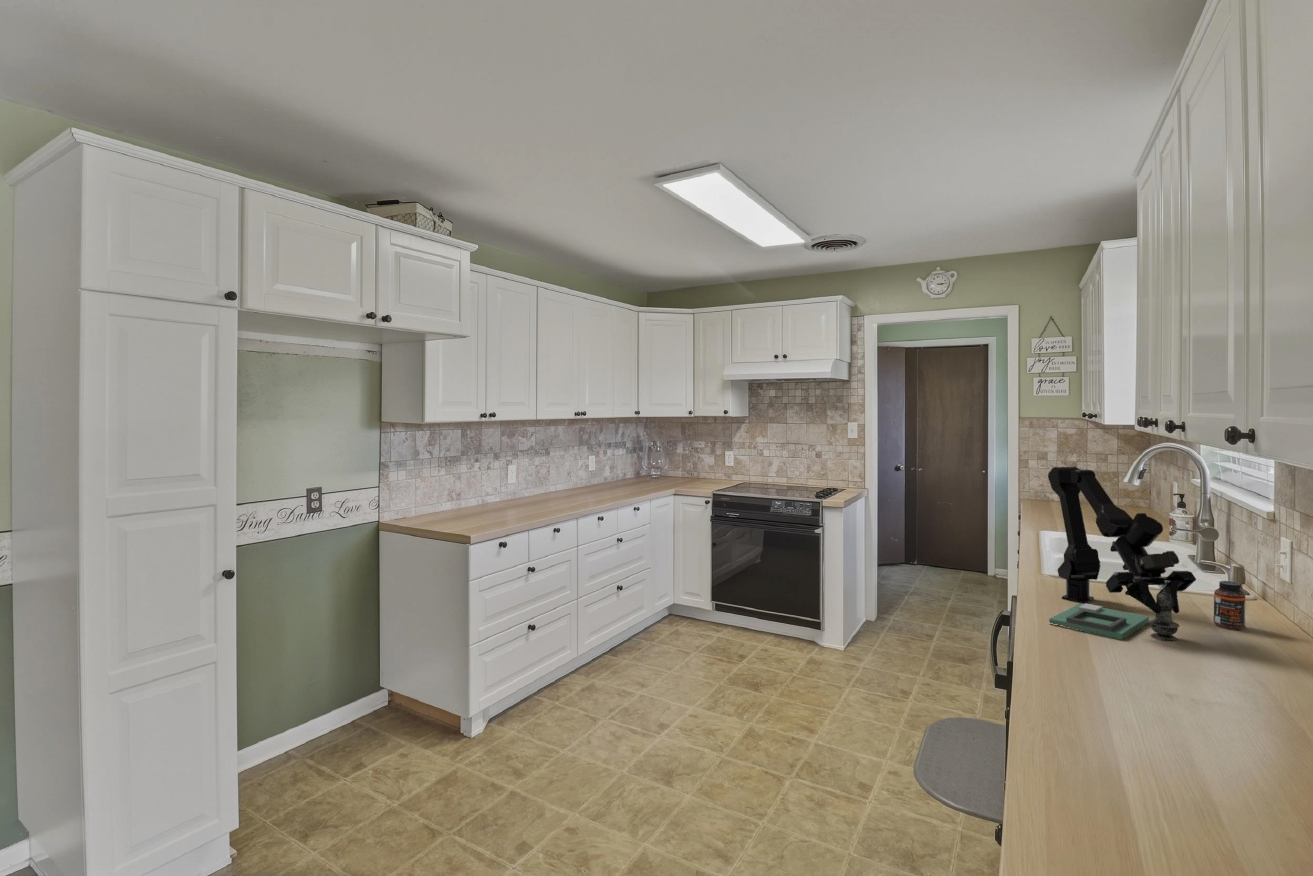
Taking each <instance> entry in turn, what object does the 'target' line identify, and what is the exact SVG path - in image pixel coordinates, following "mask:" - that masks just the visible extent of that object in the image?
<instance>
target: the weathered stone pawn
mask: <svg viewBox="0 0 1313 876" xmlns="http://www.w3.org/2000/svg"><path fill="white" fill-rule="evenodd" d="M1162 591H1163V592H1161V593H1159V592H1158V593H1157V594H1156V598H1155V599H1156V600H1155V601H1156V603H1157V605H1158V607H1159V609H1160V613H1159V614H1156V613H1155V614H1156V615H1155V618H1153V619H1149V623H1148V624H1149V625H1150V628H1151V630H1152V631H1153V632H1154V633H1152V634H1150V635H1149V636H1150V638H1152V639H1154V640H1157V641H1162V642H1168V641H1175V642H1178V641H1179V638H1178V637H1176V636H1174V635H1175V634H1176V633H1177V632H1178V629H1179V627H1180V624H1179V623H1177V622H1175V621H1174V619H1173V617H1172V615H1173V613H1172V612H1173V608H1171V596H1170V595H1169V594H1167V593H1166V592H1165V590H1164V589H1163V590H1162ZM1177 640H1178V641H1177Z"/></svg>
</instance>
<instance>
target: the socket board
mask: <svg viewBox="0 0 1313 876" xmlns="http://www.w3.org/2000/svg"><path fill="white" fill-rule="evenodd" d="M1149 620H1150V616H1147V615H1143V614H1136V613H1131V612H1126V611H1123V610H1122V611H1121V610H1116V609H1112V608H1111V609H1110V608H1105V607H1103V606H1102V605H1096V604H1092V603H1088V602H1087V603H1084V604H1083V603H1078V604H1076V605H1074V606H1071V608H1068V609H1066V610H1064V611H1062V612H1060V613H1058V614H1056V615H1054V616H1052V617H1050V618H1049V621H1048V622H1050V623H1053V624H1058V625H1063V626H1065V627H1070V628H1074V629H1078V630H1082V631H1086V632H1085V633H1087V632H1090V633H1089V634H1092V633H1094V634H1093V635H1096V634H1098V635H1097V636H1101V635H1102V636H1101V637H1106V638H1110V639H1115V640H1121V641H1122V640H1124V639H1125V638H1127V637H1129V636H1131V635H1132V634H1133V633H1134V632H1136V631H1138V630H1140V629H1141V628H1142V627H1144V626H1145V625H1147V624H1150V623H1149ZM1078 630H1077V631H1078ZM1082 631H1081V632H1082ZM1131 633H1132V634H1131ZM1128 635H1129V636H1128Z"/></svg>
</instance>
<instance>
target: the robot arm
mask: <svg viewBox="0 0 1313 876" xmlns="http://www.w3.org/2000/svg"><path fill="white" fill-rule="evenodd" d="M1047 477H1048V478H1047V479H1048V481H1049V483H1050V486H1051V487H1050V488H1051V490H1052V491H1053V492H1054V493H1055V494H1056V495H1057V496H1058V498H1059V503H1060V507H1061V513H1062V518H1063V523H1064V528H1065V529H1064V530H1065V535H1066V536H1065V537H1066V541H1067V547H1066V549H1065V551H1064V552H1063V562H1062V563H1061V564H1060V566H1059V567H1058V568H1057V575H1058V577H1059V578H1062V579H1064V580H1065V585H1066V587H1065V589H1066V590H1065V593H1066V594H1064V595H1062V596H1061V599H1062V600H1063V599H1064V600H1068V601H1074V602H1080V603H1084V602H1085V603H1087V604H1088V602H1091V601H1093V600H1094V599H1095V597H1094V596H1090V580H1095V581H1096V580H1098V579H1099V578H1098V577H1099V574H1100V570H1101V561H1100V558H1099V551H1098V550H1097V548H1092V546H1091V545H1090V544H1089V541H1088V538H1087V537H1088V536H1087V532H1086V527H1085V522H1084V516H1083V515H1084V514H1083V510H1082V506H1081V505H1082V504H1081V499H1080V496H1079V495H1080V493H1082V495H1083V497H1085V499H1086V501H1087V502H1088V504H1089V506H1090V507H1091V509H1092V510H1093V511H1094V513H1095V515H1096V517H1095V523H1096V526H1097V528H1098V531H1099V532H1100V534H1101V535H1102V536H1103V537H1104V538H1117V539H1116V540H1115V541H1113V540H1112V542H1111V546H1110V552H1111V553H1112V552H1117V553H1118V555H1119V557H1120V559H1121V560H1122V561H1123V563H1124V564H1123V565H1122V568H1123V569H1122V570H1124V571H1117V572H1116V571H1114V572H1113V574H1112V575H1111V576H1110V577H1109V578H1108V579H1107V580H1106V582H1105V587H1106V589H1107V590H1108V592H1109V593H1114V594H1115V593H1122V592H1123V590H1124V586H1125V588H1126V591H1124V594H1125V596H1130V597H1132V598H1133V599H1135V600H1136V601H1137V602H1139V603H1141V604H1142V605H1144V606H1145V607H1146V608H1148V609H1150V610H1151V611H1152V612H1153V613H1155V614H1159V613H1160V609H1159V607H1158V605H1157V603H1156V600H1155V598H1154V596H1153V595H1152V593H1151V591H1150V587H1149V586H1158V587H1159V589H1160V590H1159V591H1158V593H1161V592H1163V591H1162V590H1163V589H1164V590H1165V592H1166V593H1167V594H1169V595H1170V596H1171V608H1173V610H1172V612H1173V613H1174V614H1178V613H1179V612H1180V606H1179V600H1178V599H1179V598H1178V592H1183V591H1186V590H1187V589H1188V588H1189V587H1190V586H1191V585H1192V584H1193V583H1194V582H1195V581H1197V578H1196V577H1195V575H1194V573H1192V571H1189V570H1173V571H1172V572H1170V573H1169V574H1168V576H1162V575H1163V574H1165V573H1167V570H1166V569H1168V568H1174V567H1175V565H1178V564H1179V563H1180V559H1179V557H1178V554H1176V552H1175V551H1174V550H1167V551H1165V552H1164V551H1163V552H1162V553H1149V552H1148V551H1147V550H1146V549H1145V547H1146V548H1147V547H1149V546H1151V544H1153V542H1155V540H1156V539H1157V538H1158V537H1159V536H1161V534H1162V533H1163V531H1164V527H1163V525H1162V523H1161V522H1159V521H1158V520H1156V519H1154V517H1151V516H1148V515H1147V514H1146V513H1145V512H1141V513H1140V512H1139V513H1136V514H1135V516H1134V517H1131V516H1130V515H1129V514H1128V512H1127V511H1125V510H1124V509H1122V508H1120V507H1118V506H1117V505H1115V503H1114V502H1113V500H1112V499H1111V497H1110V496H1109V494H1108V493H1107V492H1106V490H1105V489H1104V488H1103V486H1102V485H1101V483H1100V482H1099V480H1098V479H1097V477H1096V473H1095V471H1093V470H1091V469H1080V468H1078V467H1077V466H1056V467H1055V466H1053V467H1052V468H1051V470H1050V471H1049V472H1048V474H1047ZM1085 603H1084V604H1085Z"/></svg>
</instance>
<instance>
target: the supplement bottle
mask: <svg viewBox="0 0 1313 876" xmlns="http://www.w3.org/2000/svg"><path fill="white" fill-rule="evenodd" d="M1213 623H1214V625H1215V626H1216V627H1219V628H1222V629H1225V628H1226V629H1225V630H1231V629H1234V630H1235V631H1240V630H1241V629H1242V630H1244V629H1245V628H1246V594H1245V593H1244V592H1243V591H1241V584H1240V583H1239V582H1236V581H1230V580H1220V581H1219V584H1218V588H1216V589H1215V590H1214V592H1213ZM1234 630H1233V631H1234Z"/></svg>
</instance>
